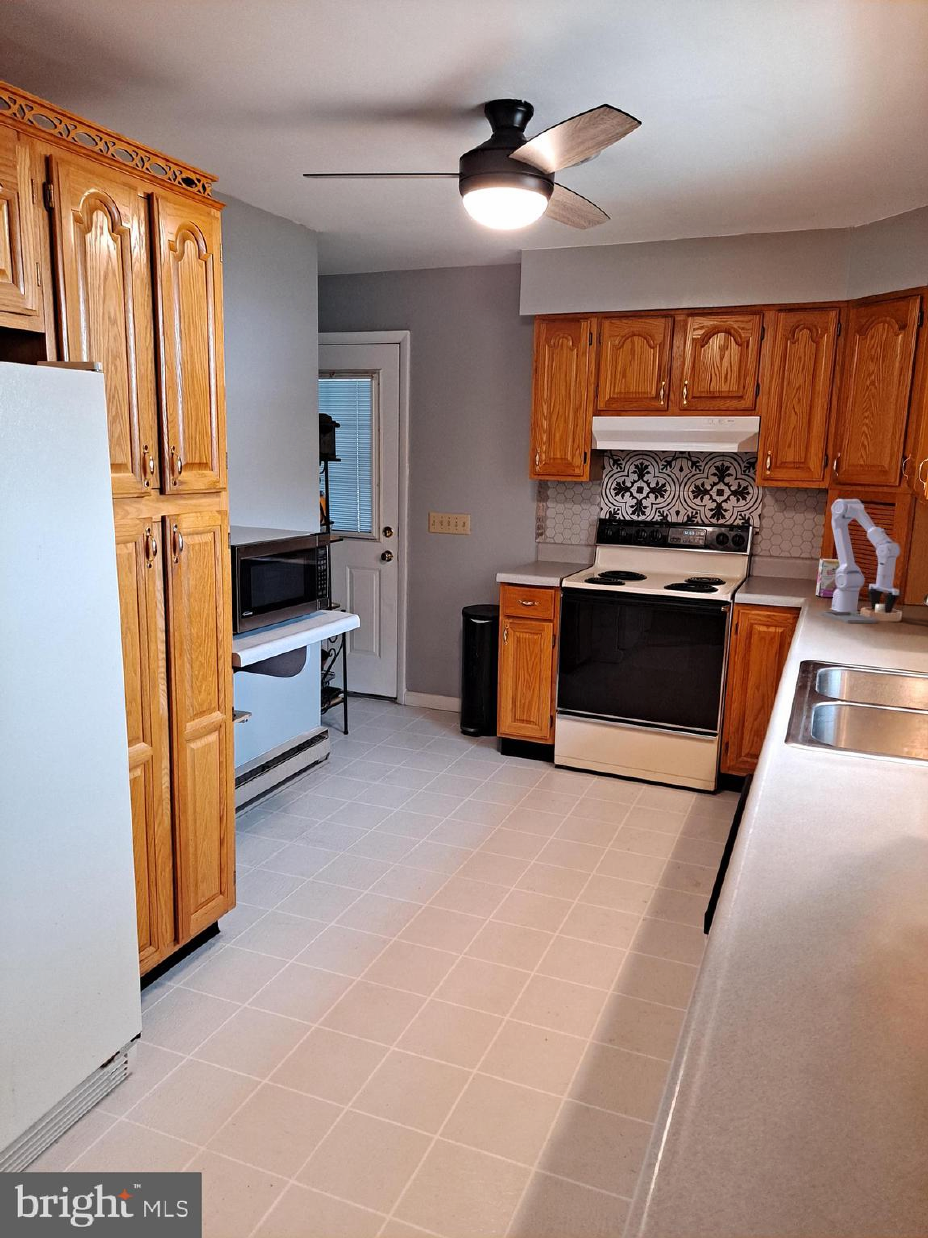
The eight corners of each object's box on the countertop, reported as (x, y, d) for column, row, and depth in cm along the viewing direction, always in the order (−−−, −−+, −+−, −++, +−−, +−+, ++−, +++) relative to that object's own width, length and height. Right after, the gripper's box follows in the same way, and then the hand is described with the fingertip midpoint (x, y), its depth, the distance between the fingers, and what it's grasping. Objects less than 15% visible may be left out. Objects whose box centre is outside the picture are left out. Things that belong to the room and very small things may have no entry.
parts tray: (821, 616, 336) (821, 611, 335) (849, 616, 338) (850, 611, 338) (847, 624, 320) (847, 619, 320) (876, 624, 322) (877, 619, 322)
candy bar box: (818, 597, 381) (822, 559, 378) (815, 595, 386) (819, 558, 383) (845, 598, 380) (849, 560, 377) (841, 597, 385) (845, 559, 382)
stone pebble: (871, 616, 334) (873, 603, 333) (881, 616, 335) (882, 603, 334) (878, 618, 330) (880, 605, 329) (888, 618, 331) (889, 605, 330)
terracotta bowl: (853, 616, 338) (854, 607, 337) (884, 615, 340) (885, 606, 340) (875, 623, 325) (876, 613, 324) (908, 622, 328) (909, 613, 327)
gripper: (863, 572, 336) (859, 607, 338) (888, 577, 322) (884, 614, 324) (880, 572, 337) (876, 607, 340) (905, 577, 323) (901, 614, 326)
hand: (881, 611), depth 332 cm, fingers open, 7 cm apart
